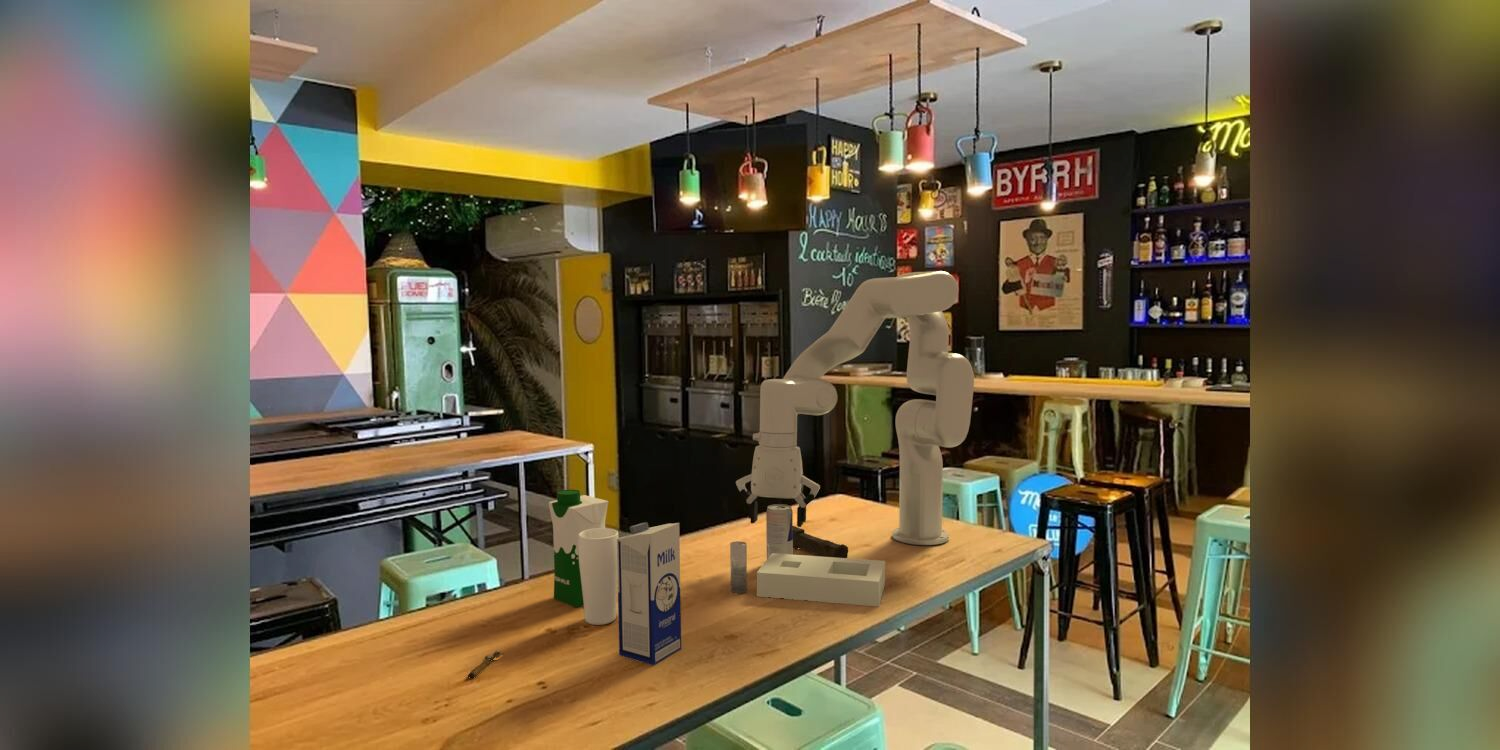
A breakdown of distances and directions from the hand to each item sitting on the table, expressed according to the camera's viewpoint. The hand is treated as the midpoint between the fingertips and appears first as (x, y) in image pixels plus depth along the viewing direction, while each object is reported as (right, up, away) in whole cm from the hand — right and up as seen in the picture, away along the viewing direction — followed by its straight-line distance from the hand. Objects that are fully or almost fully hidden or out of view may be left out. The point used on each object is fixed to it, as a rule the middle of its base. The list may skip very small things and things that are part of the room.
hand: (776, 523), depth 164 cm
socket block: (+8, -10, -14) cm, 19 cm away
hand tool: (+7, -8, +9) cm, 14 cm away
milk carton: (-21, -12, -41) cm, 47 cm away
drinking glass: (-31, -11, -28) cm, 43 cm away
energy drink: (+1, -9, +1) cm, 9 cm away
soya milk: (-36, -11, -17) cm, 41 cm away
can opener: (-44, -13, -45) cm, 64 cm away
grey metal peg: (-8, -10, -14) cm, 19 cm away
